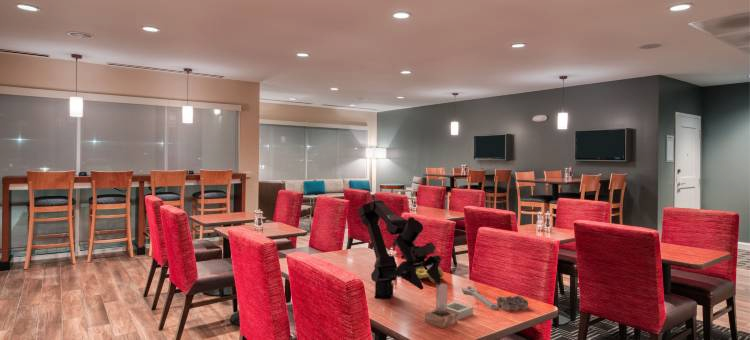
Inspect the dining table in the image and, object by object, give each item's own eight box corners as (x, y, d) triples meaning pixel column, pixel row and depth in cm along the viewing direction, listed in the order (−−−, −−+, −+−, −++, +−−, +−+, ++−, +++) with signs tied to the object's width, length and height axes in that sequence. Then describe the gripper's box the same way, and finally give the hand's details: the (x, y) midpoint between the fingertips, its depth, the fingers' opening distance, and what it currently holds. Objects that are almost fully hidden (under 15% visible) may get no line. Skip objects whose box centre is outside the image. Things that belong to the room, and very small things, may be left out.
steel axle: (435, 323, 151) (436, 286, 151) (435, 319, 155) (436, 283, 154) (446, 324, 151) (447, 286, 150) (446, 320, 154) (447, 283, 154)
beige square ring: (442, 328, 147) (442, 319, 147) (424, 321, 153) (424, 312, 153) (457, 322, 153) (457, 313, 153) (440, 316, 158) (440, 307, 158)
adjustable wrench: (499, 311, 166) (499, 306, 166) (482, 311, 165) (482, 307, 165) (473, 290, 191) (473, 285, 191) (459, 290, 190) (459, 286, 190)
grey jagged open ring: (503, 312, 164) (503, 301, 164) (494, 305, 172) (494, 294, 172) (530, 310, 166) (531, 299, 166) (520, 304, 173) (521, 293, 173)
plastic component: (409, 268, 214) (427, 258, 217) (415, 282, 215) (433, 272, 217) (422, 276, 195) (442, 265, 197) (430, 292, 196) (449, 280, 198)
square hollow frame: (458, 319, 155) (458, 312, 155) (440, 313, 161) (440, 306, 161) (472, 314, 161) (473, 307, 161) (454, 308, 167) (454, 301, 166)
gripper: (401, 238, 153) (426, 277, 145) (438, 232, 165) (462, 268, 157) (385, 257, 159) (407, 296, 151) (421, 250, 171) (443, 286, 163)
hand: (431, 286), depth 155 cm, fingers open, 9 cm apart
